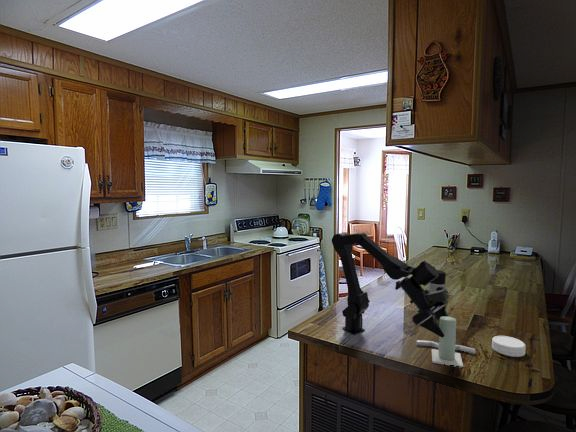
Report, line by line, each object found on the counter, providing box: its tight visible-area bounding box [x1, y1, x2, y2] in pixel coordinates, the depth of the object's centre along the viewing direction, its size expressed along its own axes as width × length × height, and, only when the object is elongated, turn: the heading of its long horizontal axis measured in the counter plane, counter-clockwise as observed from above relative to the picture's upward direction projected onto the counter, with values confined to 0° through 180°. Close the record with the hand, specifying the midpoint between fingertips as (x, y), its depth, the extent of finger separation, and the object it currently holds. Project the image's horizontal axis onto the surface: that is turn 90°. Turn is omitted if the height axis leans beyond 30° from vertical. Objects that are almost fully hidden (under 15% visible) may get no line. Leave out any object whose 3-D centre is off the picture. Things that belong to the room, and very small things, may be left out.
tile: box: [431, 348, 464, 368], centre depth 116 cm, size 9×9×1 cm
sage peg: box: [438, 316, 457, 361], centre depth 116 cm, size 5×5×13 cm
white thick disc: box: [491, 335, 526, 358], centre depth 122 cm, size 10×10×4 cm
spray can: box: [428, 269, 447, 316], centre depth 155 cm, size 7×7×20 cm
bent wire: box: [415, 339, 476, 355], centre depth 123 cm, size 19×4×2 cm, turn 70°
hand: (447, 332), depth 116 cm, fingers open, 9 cm apart
